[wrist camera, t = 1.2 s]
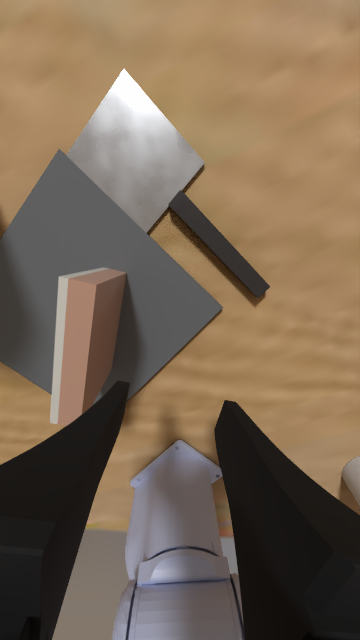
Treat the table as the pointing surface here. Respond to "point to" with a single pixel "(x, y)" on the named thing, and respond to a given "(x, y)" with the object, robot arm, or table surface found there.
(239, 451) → the robot arm
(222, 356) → the table surface
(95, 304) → the tile
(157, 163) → the turner
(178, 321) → the mat
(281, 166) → the table surface
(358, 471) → the dixie cup
